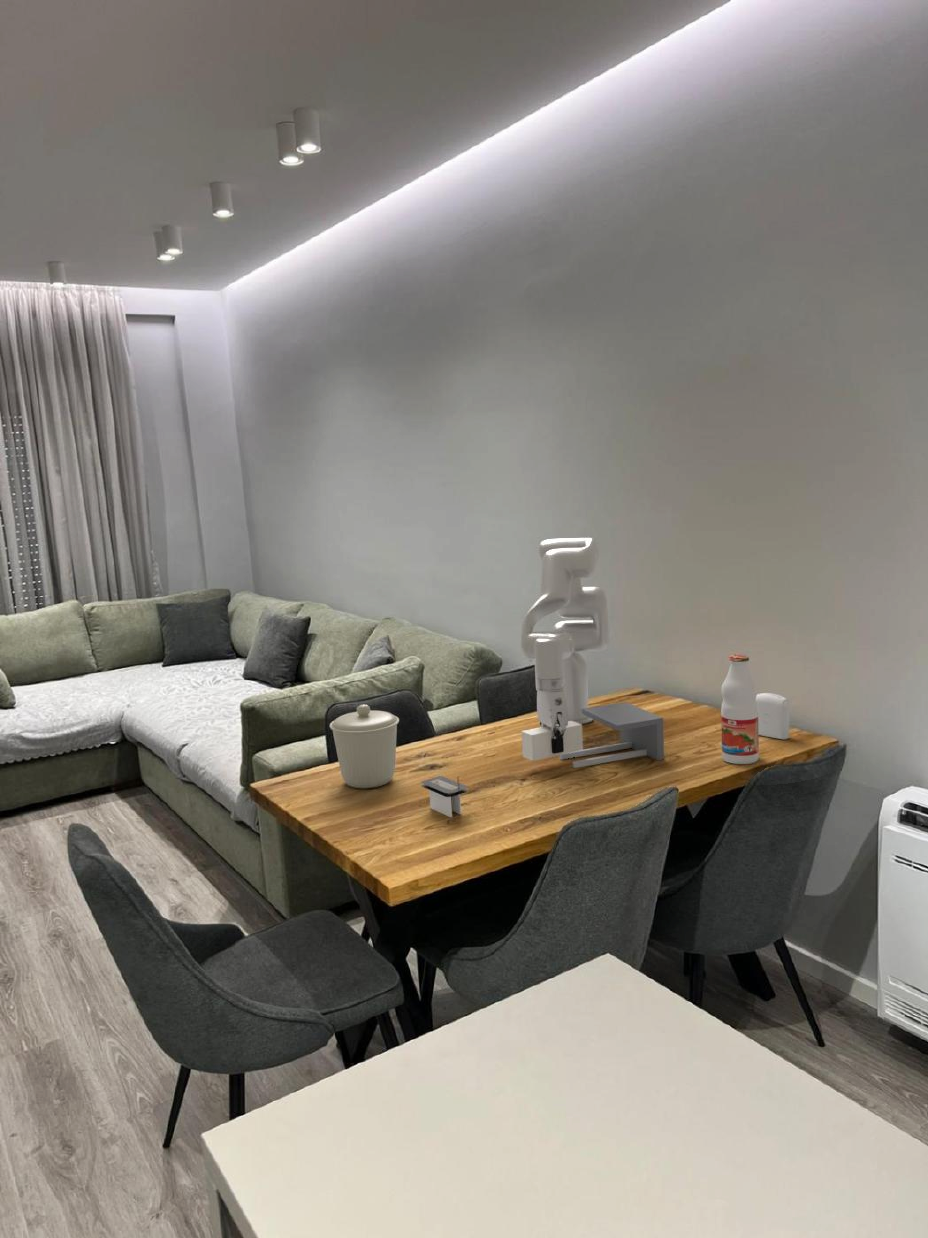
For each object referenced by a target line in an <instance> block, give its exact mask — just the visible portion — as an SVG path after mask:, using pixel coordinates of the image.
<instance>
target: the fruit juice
mask: <svg viewBox="0 0 928 1238" xmlns="http://www.w3.org/2000/svg"><path fill="white" fill-rule="evenodd" d="M728 659H729V664H730V665H729V668H728V672H727V675H726V677H725V679H724V680H723V682H722V684H721V690H720V691H721V694H722V699H723V700H722V703H721V709H720V711H721V712H720V715H721V716H720V718H721V720H720V721H721V722H720V723H721V725H720V726H721V729H720V731H721V758H722V760H723V761H724V762H725V763H726V762H727V763H728V764H733V765H750V764H754V763H757V762H758V760H759V757H760V753H759V752H760V751H759V748H760V747H759V736H760V735H759V726H758V715H759V714H758V705H757V703H756V696H757V695H758V692H759V690H758V689H759V688H758V684H757V682H756V681H755V679H754V678H753V676H752V673H751V670H750V668H749V661H750V657H749V655H747V654H742V653H741V654H738V653H736V654H730V655H729V658H728Z"/></svg>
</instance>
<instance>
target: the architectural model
mask: <svg viewBox="0 0 928 1238" xmlns="http://www.w3.org/2000/svg"><path fill="white" fill-rule="evenodd" d="M456 778H457V781H455V780H453V779H450V778H448V777H446V776H443V775H439V776H434V777H431V778H429V779H425V780H421V781H420V783H421V785H420V786H421V787H422V788H424V789H427V790H429V803H430V804H429V805H430V809H432V810H433V811H436V812H437V813H439V814H442V815H445V816H447V817H449V818H453V813H456V814H459V815H462V814H463V813H462V798H461V796H462V794H464V793H465V794H466V793H467V792H468V791H469V789H467V788H468V786H467V785H466V784H463V783H460V778H459V775H457V777H456Z"/></svg>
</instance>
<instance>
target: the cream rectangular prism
mask: <svg viewBox="0 0 928 1238" xmlns="http://www.w3.org/2000/svg"><path fill="white" fill-rule="evenodd" d="M557 726H559V725H558V724H556V725H555V727H557ZM565 727H566V730H565V732H564V738H563V746H564V751H563V752H561V753H555V754H554V753H552V742H551V739H552V738H553V736H552V731H551V728H550V727H548V726H544V727H541V726H539V727H535V728H530V729H525V730H521V746H522V747H521V749H522V751H521V753H522V757H523V758H525V759H527V760H530V761H531V762H535V761H539V760H543V759H549V758H552V757H557V756H560V755H562V754H566V753H571V752H575V751H579V750H583V749H584V745H583V744H584V743H583V724H579V723H576V722H573V721H568V725H567V726H565ZM557 730H559V729H555V733H556V732H557Z"/></svg>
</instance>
